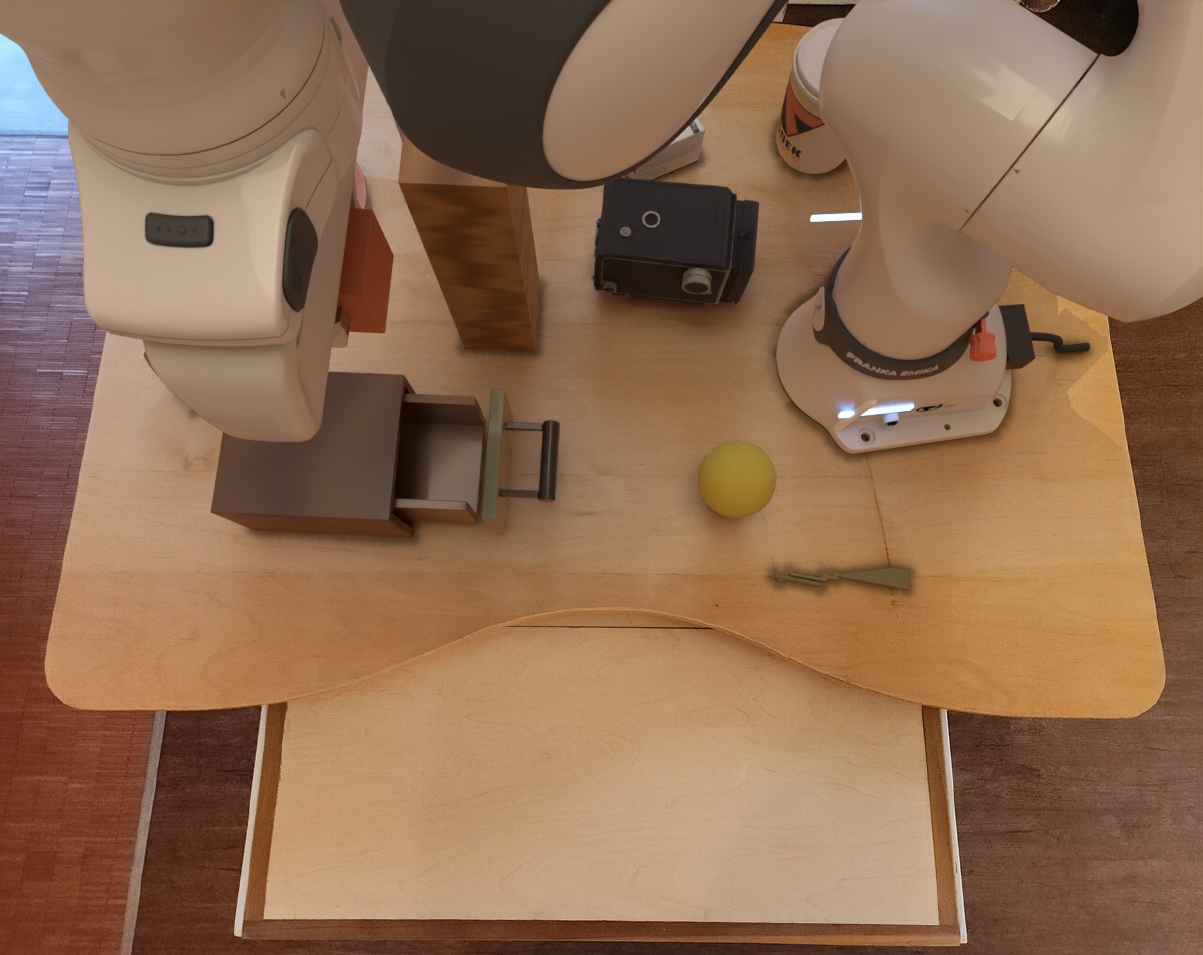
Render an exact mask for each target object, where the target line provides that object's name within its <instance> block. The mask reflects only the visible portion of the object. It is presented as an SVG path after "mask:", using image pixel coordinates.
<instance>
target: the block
mask: <svg viewBox="0 0 1203 955" xmlns="http://www.w3.org/2000/svg"><path fill="white" fill-rule="evenodd" d="M394 257H395V255H394V253H393V250H392V248H391V246H390V244H389V242H388V240H387V237H386V235H385V233H384V231H383V228H382V227H381V225H380V223H379V221H378V218H377V215H376V214H375V212H374V209H372V208H365V209H359V208H350V211H349V219H348V226H347V234H346V241H345V249H344V257H343V264H342V272H341V279H340V287H339V294H338V302H337V307H343V309H344V310H345V312H346V313H347V316H349V318H350V328H349V333H362V334H363V333H364V334H365V333H366V334H384V335H385V333H386V329H387V327H386V326H387V318H388V312H389V310H388V309H389V302H390V293H391V285H392V284H391V283H392V276H393V268H394Z"/></svg>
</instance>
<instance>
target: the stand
mask: <svg viewBox="0 0 1203 955" xmlns="http://www.w3.org/2000/svg"><path fill="white" fill-rule="evenodd" d="M401 143H402V142H401ZM399 162H400V163H399V169H398V170H399V171H398V179H397V183H398V186H399V188H400V191H401V193H402V196H403V198H404V201H405V203H406V206H407V208H408V211H409V213H410V215H411V218H412V221H413V223H414V226H415V228H416V231H417V234H418V235H419V238H420V241H421V243H422V246H423V248H424V251H425V253H426V256H427V258H428V261H429V263H430V265H431V268H432V270H433V274H434V275H435V278H436V280H437V283H438V286H439V288H440V290H441V291H440V292H441V293H442V295H443V299H444V301H445V304H446V306H447V309H448V312H449V313H450V316H451V318H452V321H453V323H454V326H455V328H456V331H457V334H458V336H459V337H460V341H461V343H462V346H463V348H464V349H474V350H475V349H476V350H494V351H495V350H496V351H497V350H499V351H518V352H519V351H520V352H524V351H525V352H537V343H538V342H537V341H538V327H539V310H540V296H541V295H540V294H541V281H540V274H539V266H538V260H537V252H536V245H535V244H536V243H535V239H534V238H535V237H534V230H533V224H532V222H533V221H532V215H531V209H530V201H529V194H528V187H522V186H515V185H509V184H505V183H500V182H496V181H492V180H488V179H484V178H481V177H477V176H474V175H471V174H468V173H465V172H462V171H459V170H456V169H454V168H451V167H449V166H446V165H444V164H442V163H439V162H437V161H435V160H434V159H432V158H430V157H428V156H427V155H425V154H424V153H423V152H421V151H420V150H419V149H418V148H417V147H415V146H414V145H413V144H412V143H411V141H410V140H409V139H408V138H407V137H406V136H405V134H403V143H402V144H401V152H400V161H399Z"/></svg>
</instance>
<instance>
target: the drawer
mask: <svg viewBox="0 0 1203 955" xmlns="http://www.w3.org/2000/svg"><path fill="white" fill-rule="evenodd" d="M512 410H513V409H512V407H511V404H510V401H509V398H508V394H507V392H506V389H503V388H491V389H490V401H489V415H488V428H487V440H486V451H485V452H486V453H485V465H484V466H485V467H484V477H483V478H484V480H483V490H482V503H481V516H480V517H481V520H482V522H483V523H484V524H485V526H486V527H487V529H488V530H489V531H490V533H491V534H496V535H497V534H498V535H504V534H505V533H506V523H507V522H506V521H507V508H508V507H507V506H508V498H511V499H513V498H514V499H515V498H517V499H537V500H538V501H539V502H541V503H554V502H556V499H557V485H558V484H557V482H558V468H559V467H558V465H559V448H560V432H561V429H560V428H561V423H560V422H559V421H557V420H554V419H547V420H544V421H543V422H542V423H539V422H537V423H536V422H517V421H516V422H515V421H514V414H513V411H512ZM486 423H487V422H486V417H485V415H484V413H483V410H482V408H481V405H480V404H479V401H478V398H477V397H476V395H475V396H473V395H472V396H471V395H450V394H446V395H445V394H431V393H430V394H429V393H428V394H427V393H416V394H408V393H404V403H403V413H402V423H401V432H400V442H399V452H398V461H397V471H396V481H395V491H394V500H393V510H392V513H393V514H394V515H395V516H397V517H398V518H399V519H400V520H402V521H407V522H414V523H431V524H433V523H434V524H453V525H454V524H456V525H476V526H477V525H479V524H478V523H479V511H480V500H481V498H480V497H481V485H482V471H483V461H484V460H483V459H484V448H485V433H486ZM513 431H515V432H516V431H520V432H541V446H540V448H541V449H540V464H539V480H538V490H531V489H509V479H510V465H511V451H512V449H511V448H512V436H513Z"/></svg>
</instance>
